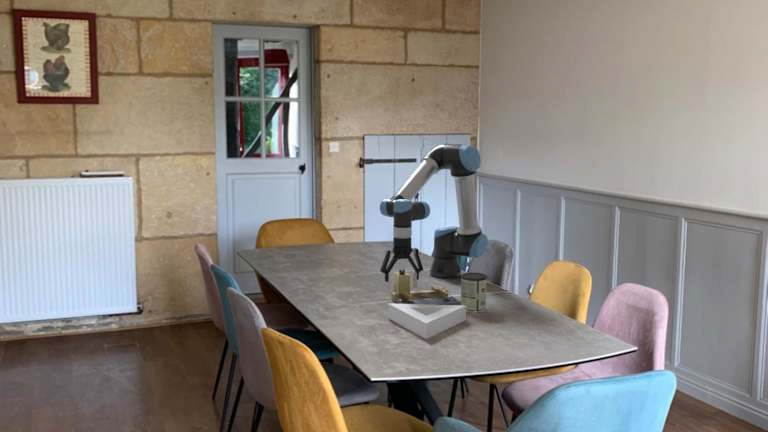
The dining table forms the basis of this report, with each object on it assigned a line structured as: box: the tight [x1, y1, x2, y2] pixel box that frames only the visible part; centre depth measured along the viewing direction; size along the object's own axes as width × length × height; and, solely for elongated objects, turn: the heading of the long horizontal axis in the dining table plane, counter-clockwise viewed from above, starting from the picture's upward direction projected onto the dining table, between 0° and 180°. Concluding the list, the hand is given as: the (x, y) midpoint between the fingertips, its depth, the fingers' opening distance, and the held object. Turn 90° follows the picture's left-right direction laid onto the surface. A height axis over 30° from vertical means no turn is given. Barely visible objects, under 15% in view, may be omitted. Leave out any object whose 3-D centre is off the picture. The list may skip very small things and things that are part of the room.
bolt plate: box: [395, 295, 461, 305], centre depth 322 cm, size 25×10×2 cm, turn 107°
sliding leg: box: [392, 268, 412, 302], centre depth 325 cm, size 5×15×11 cm, turn 18°
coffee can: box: [460, 272, 488, 314], centre depth 315 cm, size 10×10×14 cm
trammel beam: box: [390, 285, 449, 302], centre depth 328 cm, size 24×14×4 cm, turn 107°
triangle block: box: [387, 303, 467, 340], centre depth 295 cm, size 30×26×6 cm
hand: (401, 288), depth 329 cm, fingers open, 11 cm apart
